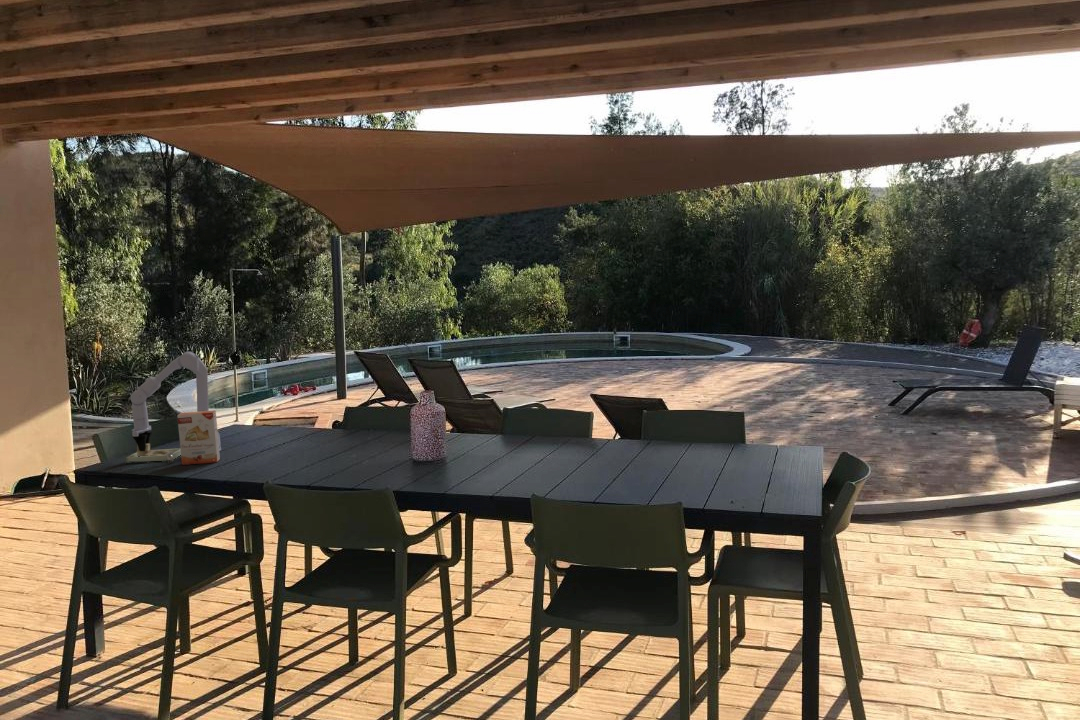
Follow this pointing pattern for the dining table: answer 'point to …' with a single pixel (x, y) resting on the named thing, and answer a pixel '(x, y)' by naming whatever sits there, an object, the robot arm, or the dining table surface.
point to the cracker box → (198, 437)
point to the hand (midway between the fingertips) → (144, 450)
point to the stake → (169, 457)
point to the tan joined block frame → (148, 453)
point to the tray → (154, 458)
